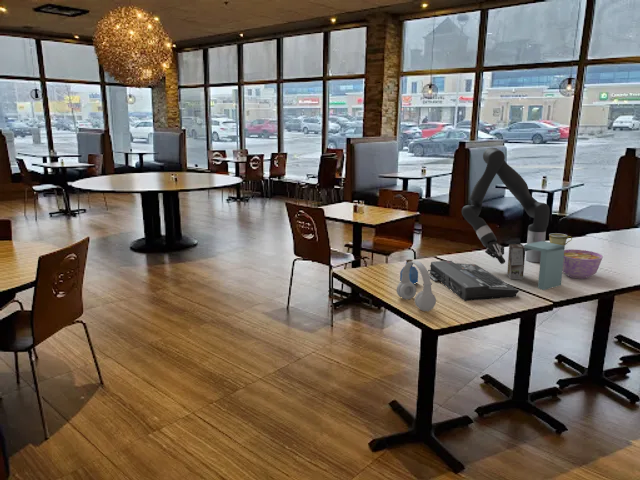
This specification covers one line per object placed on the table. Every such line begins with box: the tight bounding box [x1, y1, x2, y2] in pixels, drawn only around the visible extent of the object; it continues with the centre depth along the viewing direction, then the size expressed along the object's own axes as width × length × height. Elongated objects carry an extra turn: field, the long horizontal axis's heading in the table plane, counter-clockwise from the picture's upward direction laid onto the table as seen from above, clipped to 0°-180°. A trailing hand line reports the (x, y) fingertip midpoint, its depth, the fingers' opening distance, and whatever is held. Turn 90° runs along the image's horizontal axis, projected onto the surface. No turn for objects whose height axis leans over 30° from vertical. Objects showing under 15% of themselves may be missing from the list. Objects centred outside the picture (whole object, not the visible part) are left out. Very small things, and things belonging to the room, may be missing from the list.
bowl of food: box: [562, 249, 604, 280], centre depth 243 cm, size 20×20×12 cm
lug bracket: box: [523, 241, 566, 291], centre depth 231 cm, size 13×12×20 cm
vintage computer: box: [427, 260, 520, 302], centre depth 235 cm, size 43×29×8 cm
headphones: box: [396, 260, 437, 312], centre depth 209 cm, size 20×8×19 cm, turn 21°
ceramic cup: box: [548, 232, 573, 247], centre depth 292 cm, size 13×10×10 cm
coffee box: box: [507, 243, 526, 280], centre depth 244 cm, size 9×6×16 cm
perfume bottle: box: [399, 259, 419, 284], centre depth 238 cm, size 6×6×12 cm
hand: (503, 263), depth 251 cm, fingers closed
